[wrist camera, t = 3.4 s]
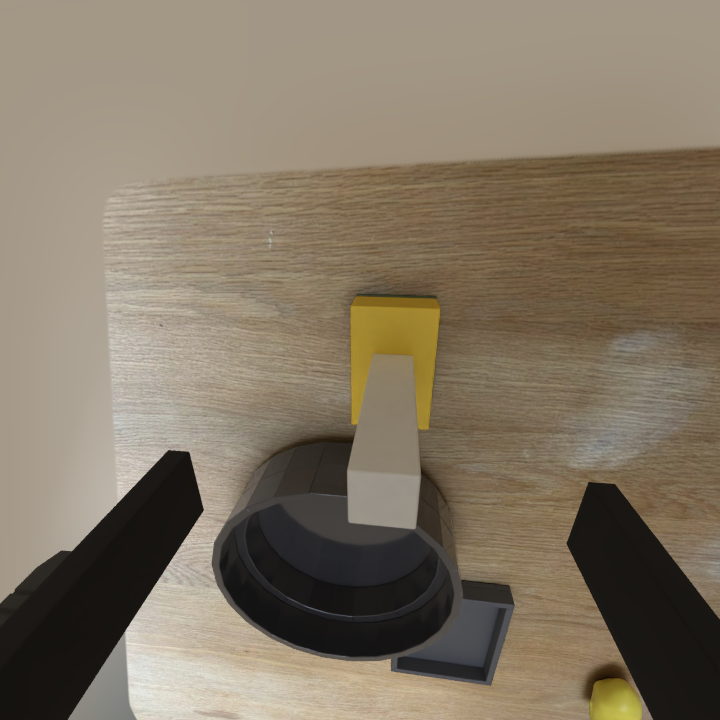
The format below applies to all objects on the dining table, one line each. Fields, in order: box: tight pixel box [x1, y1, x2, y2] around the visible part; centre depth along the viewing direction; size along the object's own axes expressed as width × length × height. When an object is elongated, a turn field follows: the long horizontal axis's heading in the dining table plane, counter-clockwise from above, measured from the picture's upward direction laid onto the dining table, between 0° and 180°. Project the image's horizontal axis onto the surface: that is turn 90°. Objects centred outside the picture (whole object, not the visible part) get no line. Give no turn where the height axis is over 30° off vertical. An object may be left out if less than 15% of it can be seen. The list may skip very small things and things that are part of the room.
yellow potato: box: [589, 678, 642, 720], centre depth 34 cm, size 4×8×4 cm, turn 178°
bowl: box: [212, 442, 463, 661], centre depth 28 cm, size 18×18×6 cm
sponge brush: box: [347, 294, 441, 529], centre depth 17 cm, size 8×5×13 cm, turn 0°
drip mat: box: [391, 581, 515, 686], centre depth 34 cm, size 13×10×2 cm
